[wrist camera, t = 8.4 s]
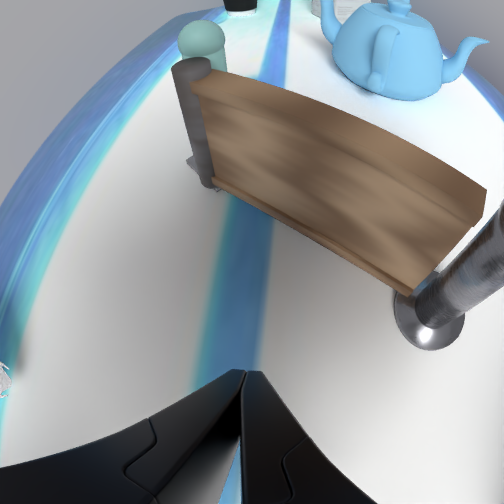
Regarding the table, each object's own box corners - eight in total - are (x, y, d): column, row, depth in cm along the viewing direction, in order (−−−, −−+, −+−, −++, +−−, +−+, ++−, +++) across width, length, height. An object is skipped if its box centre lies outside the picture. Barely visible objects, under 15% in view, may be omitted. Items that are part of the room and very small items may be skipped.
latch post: (217, 191, 21) (183, 39, 11) (187, 163, 23) (148, 28, 13) (260, 163, 22) (251, 17, 12) (228, 138, 24) (208, 8, 14)
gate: (415, 275, 16) (492, 178, 9) (403, 303, 16) (488, 212, 8) (213, 163, 22) (191, 54, 14) (194, 181, 21) (163, 70, 13)
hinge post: (434, 367, 14) (578, 297, 5) (378, 310, 16) (481, 185, 7) (473, 309, 16) (588, 213, 6) (422, 258, 18) (511, 131, 8)
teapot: (361, 117, 25) (380, 17, 16) (301, 51, 32) (303, -21, 23) (463, 112, 26) (491, 40, 17) (395, 50, 33) (406, -10, 24)
